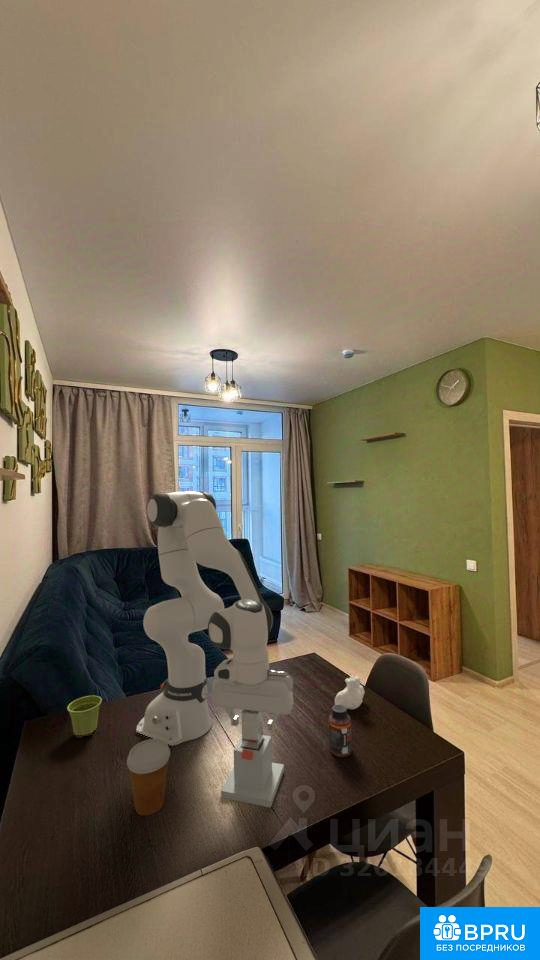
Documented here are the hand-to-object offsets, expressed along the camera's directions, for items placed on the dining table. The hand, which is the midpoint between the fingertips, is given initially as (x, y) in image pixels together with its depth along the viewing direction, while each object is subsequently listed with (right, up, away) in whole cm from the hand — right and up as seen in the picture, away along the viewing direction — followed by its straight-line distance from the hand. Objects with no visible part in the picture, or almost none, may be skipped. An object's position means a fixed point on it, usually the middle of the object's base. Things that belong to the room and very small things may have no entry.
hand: (253, 726), depth 94 cm
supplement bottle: (+23, -14, +11) cm, 29 cm away
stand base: (0, -13, 0) cm, 13 cm away
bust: (+31, -14, +32) cm, 47 cm away
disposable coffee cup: (-23, -14, -6) cm, 28 cm away
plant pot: (-51, -16, +22) cm, 58 cm away
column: (0, -12, 0) cm, 12 cm away
